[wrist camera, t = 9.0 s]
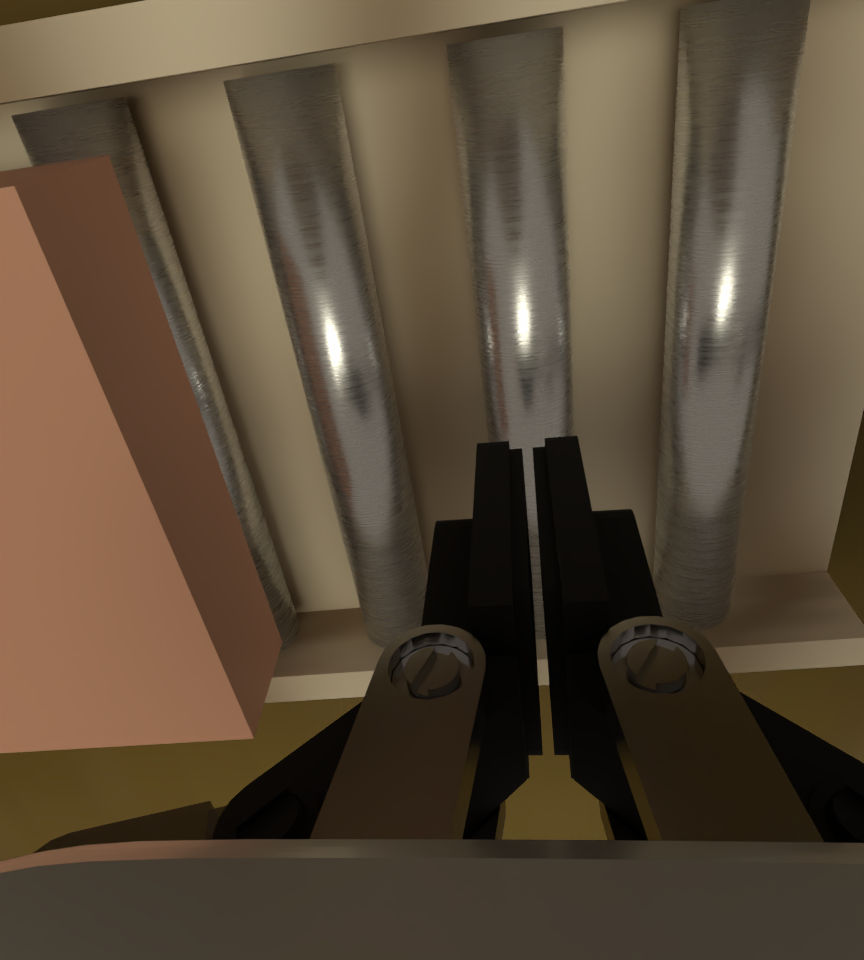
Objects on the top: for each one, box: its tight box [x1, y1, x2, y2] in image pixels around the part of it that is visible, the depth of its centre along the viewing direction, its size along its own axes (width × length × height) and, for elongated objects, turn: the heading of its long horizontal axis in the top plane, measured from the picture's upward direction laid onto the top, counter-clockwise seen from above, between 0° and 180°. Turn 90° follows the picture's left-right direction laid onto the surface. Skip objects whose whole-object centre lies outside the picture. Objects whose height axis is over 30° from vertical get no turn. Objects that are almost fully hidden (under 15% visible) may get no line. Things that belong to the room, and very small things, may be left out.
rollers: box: [11, 0, 811, 653], centre depth 16 cm, size 26×14×2 cm, turn 98°
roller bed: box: [0, 0, 864, 703], centre depth 17 cm, size 32×16×4 cm, turn 98°
